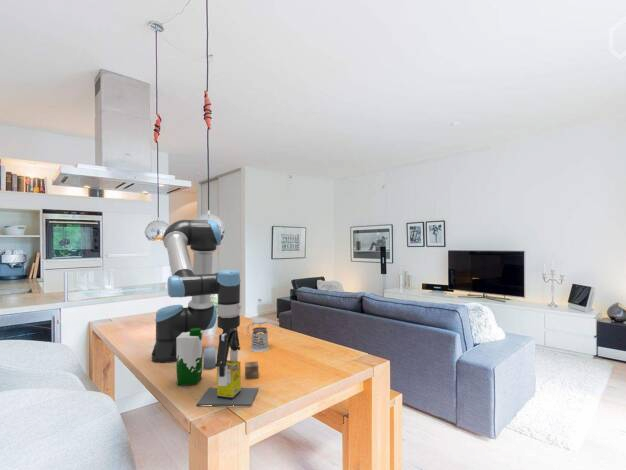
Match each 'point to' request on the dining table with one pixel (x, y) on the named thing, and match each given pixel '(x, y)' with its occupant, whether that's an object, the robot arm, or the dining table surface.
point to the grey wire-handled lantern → (259, 335)
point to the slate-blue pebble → (209, 358)
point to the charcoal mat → (241, 399)
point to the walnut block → (251, 370)
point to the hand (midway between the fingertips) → (228, 376)
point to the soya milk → (189, 357)
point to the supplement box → (230, 381)
